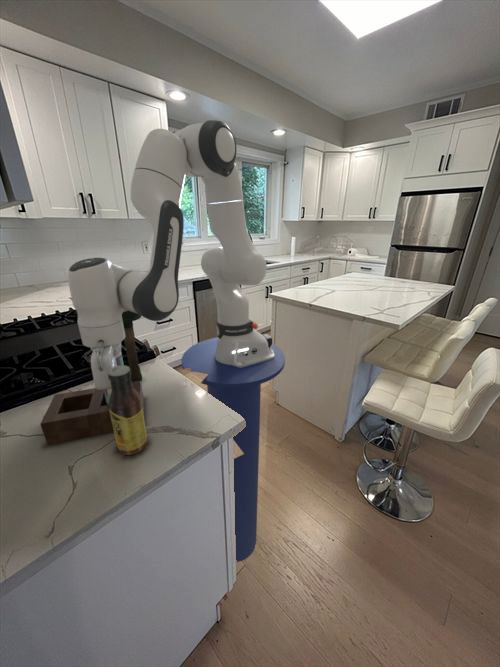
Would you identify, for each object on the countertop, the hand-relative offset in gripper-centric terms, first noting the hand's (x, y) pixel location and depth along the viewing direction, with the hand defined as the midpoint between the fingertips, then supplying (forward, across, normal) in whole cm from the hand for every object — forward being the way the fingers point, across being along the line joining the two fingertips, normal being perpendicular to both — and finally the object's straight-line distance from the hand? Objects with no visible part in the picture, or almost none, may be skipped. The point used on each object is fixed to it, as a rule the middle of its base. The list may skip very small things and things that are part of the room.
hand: (114, 384), depth 68 cm
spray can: (+9, 0, 0) cm, 9 cm away
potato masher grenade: (+10, +16, -4) cm, 19 cm away
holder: (+9, 0, +4) cm, 10 cm away
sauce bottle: (+10, -12, -4) cm, 16 cm away
